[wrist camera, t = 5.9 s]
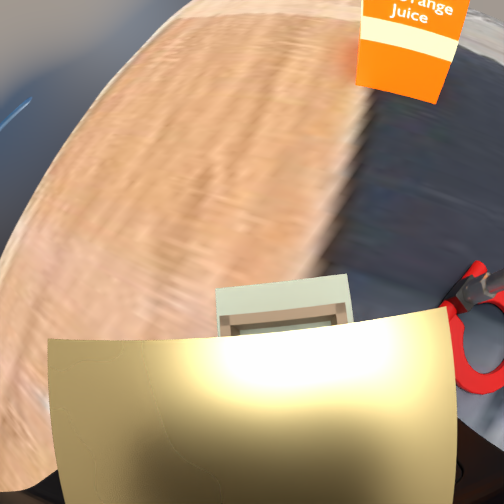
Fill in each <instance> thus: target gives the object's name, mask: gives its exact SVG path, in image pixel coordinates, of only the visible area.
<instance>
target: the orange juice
mask: <svg viewBox="0 0 504 504" xmlns="http://www.w3.org/2000/svg"><path fill="white" fill-rule="evenodd" d="M469 1H470V0H362V4H361V23H360V35H359V46H358V61H357V75H356V85H359V86H364V87H369V88H374V89H379V90H383V91H388V92H392V93H396V94H400V95H404V96H408V97H412V98H415V99H419V100H423V101H426V102H430V103H433V104H436V101H437V99H438V96H439V94H440V91H441V89H442V86H443V83H444V81H445V78H446V75H447V72H448V69H449V67H450V64H451V62H452V60H453V57H454V54H455V51H456V48H457V45H458V42H459V41H458V40H459V37H460V33H461V30H462V27H463V23H464V20H465V16H466V13H467V9H468V6H469Z"/></svg>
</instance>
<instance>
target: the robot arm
mask: <svg viewBox="0 0 504 504" xmlns="http://www.w3.org/2000/svg"><path fill="white" fill-rule="evenodd" d="M0 504H65V500H64V496H63V492H62V487H61V482H60V478H59V472H58V469H57V470H56V471H55V472H53V473H52V474H51V475H49V476H48V477H46V478H45V479H44V480H42V481H41V482H39V483H38V484H36V485H35V486H33V487H31V488H28V489H25V490H21V491H12V492H0ZM452 504H504V451H502V450H501V449H499V448H498V447H496V446H495V445H493V444H492V443H490V442H489V441H487V440H486V439H484V438H483V437H482V436H480V435H479V434H478V433H476V432H475V431H473V430H472V429H471V428H470V427H468V426H467V425H466V424H465V423H463V422H462V421H461V420H460V419H459V418H457V456H456V473H455V485H454V494H453V503H452Z"/></svg>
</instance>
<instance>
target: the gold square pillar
mask: <svg viewBox="0 0 504 504" xmlns="http://www.w3.org/2000/svg"><path fill="white" fill-rule="evenodd" d="M48 388H49V404H50V416H51V426H52V434H53V442H54V449H55V455H56V461H57V467H58V472H59V478H60V482H61V487H62V492H63V496H64V500H65V504H452V503H453V494H454V485H455V473H456V456H457V400H456V382H455V370H454V359H453V350H452V342H451V334H450V327H449V320H448V314H447V308H446V306H445V307H440V308H435V309H430V310H425V311H420V312H415V313H410V314H405V315H399V316H393V317H388V318H382V319H376V320H369V321H363V322H357V323H350V324H343V325H336V326H328V327H321V328H313V329H304V330H295V331H286V332H277V333H266V334H255V335H243V336H230V337H215V338H197V339H174V340H128V341H109V340H64V339H48Z"/></svg>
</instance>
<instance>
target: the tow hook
mask: <svg viewBox="0 0 504 504" xmlns="http://www.w3.org/2000/svg"><path fill="white" fill-rule="evenodd" d="M481 303H492V304H495V305H496V306H498V307H499V308H500V309H501V310H502V311H503V312H504V268H503V269H501V270H499V271H497V272H495V273H493V274H492V273H489V272H487V269H486V267H485V265H484V264H483V263H482V262H480V261H475V262H474V263H473V264H472V266H471V267H470V268H469V270H468V271H467V272H466V274H465V275H464V276H463V277H462V279H461V280H459V281H458V282H457V283H456V284H455V286H454V287H453V288H452V289H451V291H450V292H449V293H448V294H447V296H446V297H445V298H444V299H443V302H442V304H441V305H440V306H439V307H438V308H440V307H445V306H446V308H447V314H448V320H449V327H450V334H451V342H452V350H453V359H454V370H455V382H456V384H457V385H458V387H460V388H462V389H463V390H465V391H467V392H470V393H476V394H482V395H483V394H487V393H492V392H494V391H496V390H498V389H500V388H501V387H503V386H504V360H503V361H502V363H501V364H500V365H499V366H498V367H497V368H496V369H495V370H493V371H492V372H490V373H486V374H480V373H478V372H476V371H475V370H473V369H472V367H471V366H470V365H469V364H468V362H467V359H466V357H465V354H464V349H463V333H464V324H463V323H462V321H461V320H460V319H459V317H458V316H457V315H458V314H461V313H465V312H469V311H470V310H471V309H472V307H473V306H474V305H475V304H481Z"/></svg>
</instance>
